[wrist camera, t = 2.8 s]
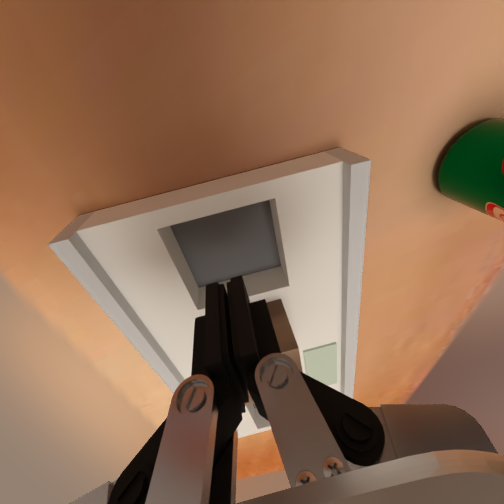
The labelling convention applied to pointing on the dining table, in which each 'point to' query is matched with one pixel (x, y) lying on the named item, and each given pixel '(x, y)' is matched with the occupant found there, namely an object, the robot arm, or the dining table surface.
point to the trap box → (234, 262)
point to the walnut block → (282, 334)
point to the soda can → (476, 169)
